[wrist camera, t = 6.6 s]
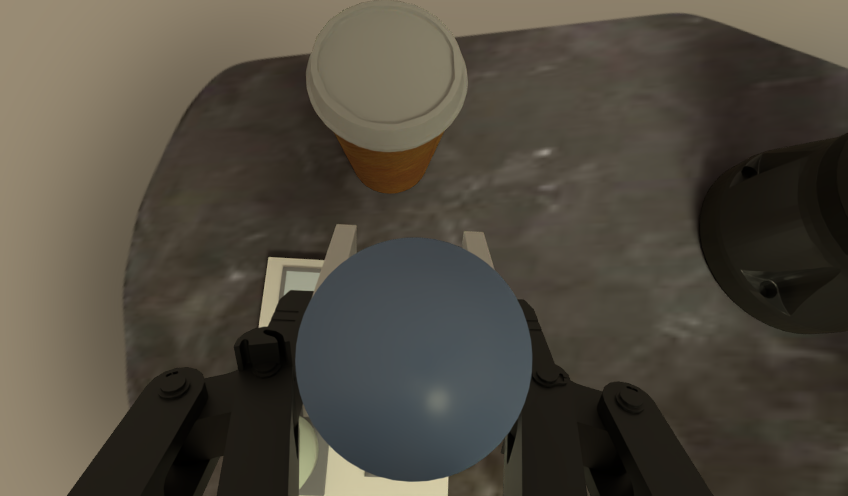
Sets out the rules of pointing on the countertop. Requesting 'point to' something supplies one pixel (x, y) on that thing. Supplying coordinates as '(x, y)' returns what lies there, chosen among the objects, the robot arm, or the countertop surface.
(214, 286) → the countertop surface
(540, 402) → the robot arm
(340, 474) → the sheet
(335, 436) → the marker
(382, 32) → the disposable coffee cup
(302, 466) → the button
